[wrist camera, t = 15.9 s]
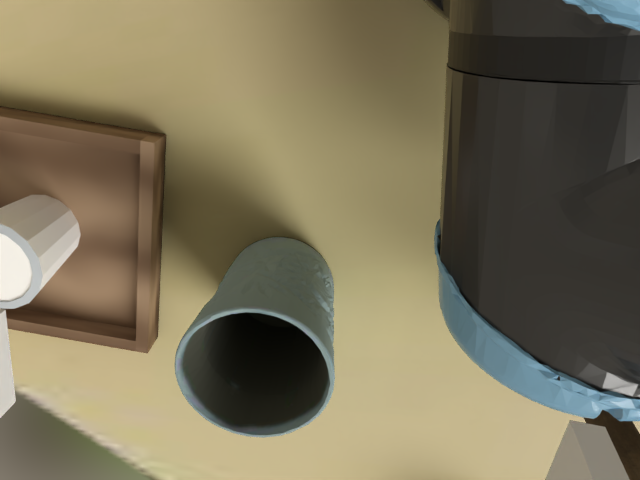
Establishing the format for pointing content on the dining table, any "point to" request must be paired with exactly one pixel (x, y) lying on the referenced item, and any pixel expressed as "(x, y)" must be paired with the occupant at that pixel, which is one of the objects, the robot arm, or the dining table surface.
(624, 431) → the stick grenade
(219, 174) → the dining table surface
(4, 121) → the tray
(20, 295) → the white cup
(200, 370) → the blue cup
